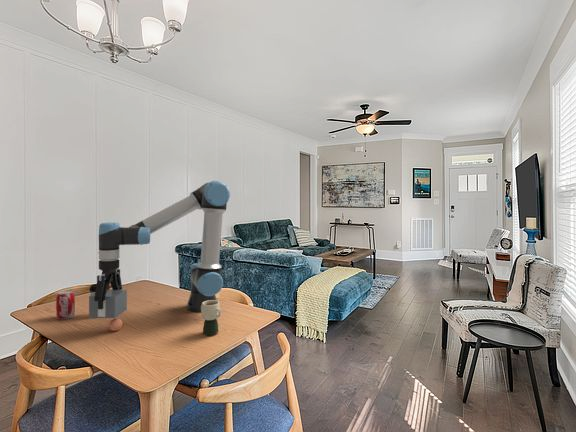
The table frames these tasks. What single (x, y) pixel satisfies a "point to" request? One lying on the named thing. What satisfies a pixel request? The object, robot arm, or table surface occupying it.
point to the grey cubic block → (109, 304)
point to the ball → (115, 324)
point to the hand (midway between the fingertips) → (109, 311)
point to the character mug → (210, 316)
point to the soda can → (65, 305)
